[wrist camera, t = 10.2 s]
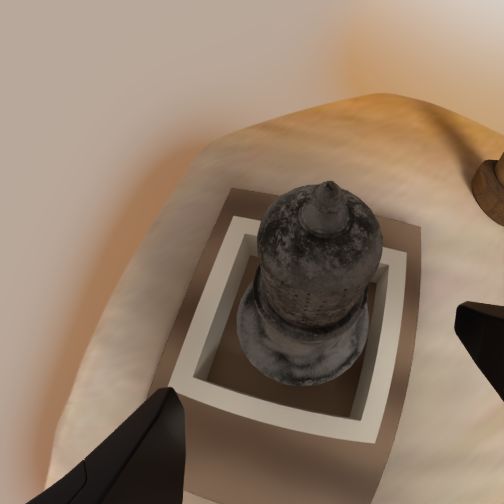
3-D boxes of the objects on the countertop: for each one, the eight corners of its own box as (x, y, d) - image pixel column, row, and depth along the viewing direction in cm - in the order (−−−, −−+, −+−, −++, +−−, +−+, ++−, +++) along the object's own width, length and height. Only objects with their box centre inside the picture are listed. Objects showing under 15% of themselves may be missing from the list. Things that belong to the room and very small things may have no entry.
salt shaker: (350, 389, 13) (506, 350, 3) (240, 384, 14) (120, 342, 4) (351, 288, 16) (428, 110, 6) (252, 284, 17) (200, 99, 6)
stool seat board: (354, 521, 10) (369, 545, 7) (135, 458, 13) (103, 467, 10) (414, 235, 18) (433, 205, 15) (234, 198, 22) (225, 163, 19)
